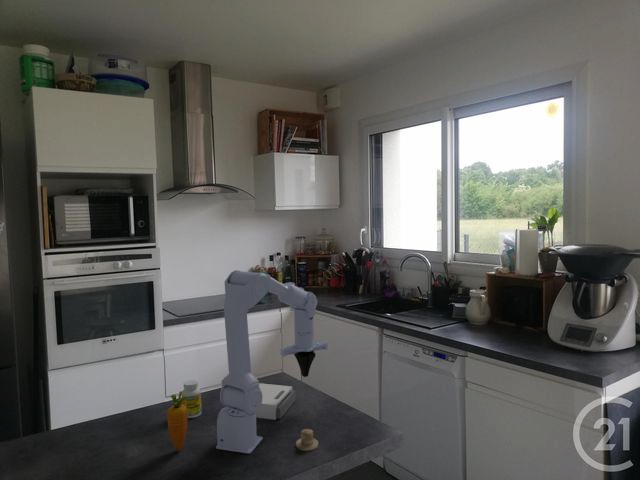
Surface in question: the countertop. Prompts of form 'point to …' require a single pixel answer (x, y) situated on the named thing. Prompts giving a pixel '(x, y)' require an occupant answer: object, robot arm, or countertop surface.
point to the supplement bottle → (192, 398)
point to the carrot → (177, 421)
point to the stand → (307, 441)
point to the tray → (286, 404)
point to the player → (271, 399)
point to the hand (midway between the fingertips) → (304, 375)
